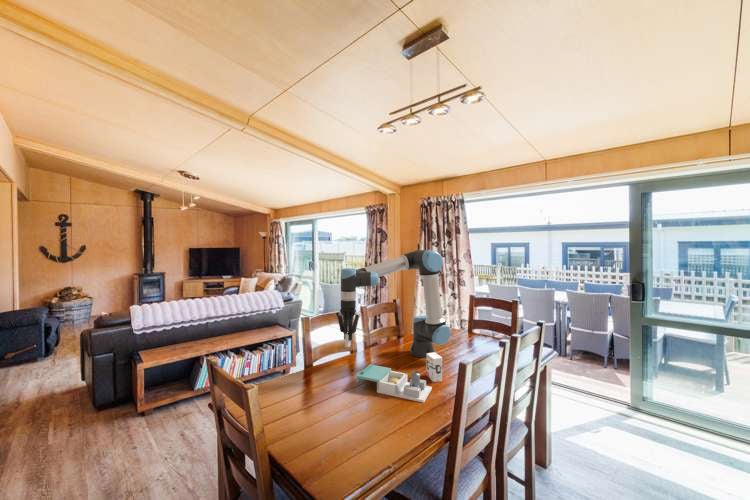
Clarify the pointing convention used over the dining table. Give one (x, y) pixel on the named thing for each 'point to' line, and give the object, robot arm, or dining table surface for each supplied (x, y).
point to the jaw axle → (415, 379)
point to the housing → (403, 387)
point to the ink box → (434, 367)
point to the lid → (373, 373)
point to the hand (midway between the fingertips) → (348, 346)
